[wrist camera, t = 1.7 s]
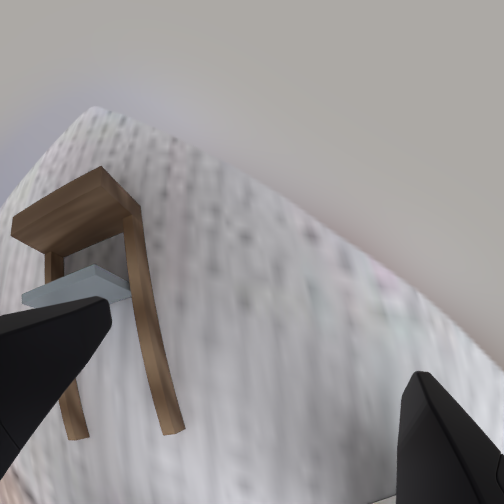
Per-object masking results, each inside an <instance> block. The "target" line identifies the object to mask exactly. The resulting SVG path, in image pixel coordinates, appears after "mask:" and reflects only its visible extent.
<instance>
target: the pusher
mask: <svg viewBox="0 0 504 504" xmlns="http://www.w3.org/2000/svg"><path fill="white" fill-rule="evenodd" d="M93 296H99V297H102V298H105V299H107V300H108V302H109V304H110V303H113V302H117V301H120V300H123V299H126V298H129V297H132V296H131V289H130V282H128V281H126V280H124V279H122V278H120V277H118V276H116V275H114V274H113V273H111V272H109V271H107V270H105V269H103V268H101V267H99V266H97V265H96V264H93V265H91V266H88V267H86V268H83V269H81V270H78V271H76V272H74V273H71V274H69V275H66V276H64V277H62V278H59V279H57V280H54V281H52V282H50V283H47V284H45V285H43V286H40V287H38V288H36V289H33V290H31V291H29V292H26V293H24V294H22V304H24V305H27V306H30V307H33V308H40V307H45V306H50V305H55V304H60V303H64V302H69V301H74V300H79V299H84V298H88V297H93Z"/></svg>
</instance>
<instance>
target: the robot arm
mask: <svg viewBox="0 0 504 504" xmlns="http://www.w3.org/2000/svg"><path fill="white" fill-rule="evenodd" d="M111 326H112V318H111V312H110V306H109V302H108V300H107V299H105V298H102V297H99V296H93V297H88V298H84V299H79V300H74V301H69V302H64V303H60V304H55V305H50V306H45V307H40V308H35V309H30V310H26V311H21V312H16V313H11V314H6V315H2V316H0V480H1V479H2V477H3V476H4V474H5V473H6V471H7V470H8V469H9V467H10V466H11V464H12V463H13V461H14V460H15V458H16V457H17V456H18V454H19V453H20V451H21V449H22V448H23V447H24V445H25V444H26V442H27V441H28V440H29V438H30V437H31V436H32V434H33V433H34V431H35V430H36V429H37V427H38V426H39V425H40V423H41V422H42V421H43V419H44V418H45V417H46V415H47V414H48V413H49V411H50V410H51V409H52V407H53V406H54V405H55V404H56V402H57V401H58V400H59V398H60V397H61V396H62V394H63V393H64V392H65V391H66V389H67V388H68V387H69V386H70V384H71V383H72V382H73V380H74V379H75V378H76V377H77V375H78V374H79V373H80V372H81V370H82V369H83V368H84V367H85V365H86V364H87V363H88V361H89V360H90V358H91V357H92V355H93V354H94V352H95V351H96V349H97V348H98V346H99V345H100V343H101V342H102V340H103V339H104V337H105V336H106V334H107V333H108V331H109V330H110V328H111ZM396 504H504V455H503V454H501V452H500V450H499V449H498V448H497V447H496V446H495V444H494V443H493V442H492V441H491V440H490V439H489V438H488V436H487V435H486V434H485V433H484V432H483V431H482V429H481V428H480V427H479V426H478V425H477V424H476V423H475V422H474V420H473V419H472V418H471V417H470V416H469V415H468V414H467V413H466V412H465V410H464V409H463V408H462V407H461V406H460V405H459V404H458V403H457V402H456V400H455V399H454V398H453V397H452V396H451V395H450V394H449V393H448V392H447V391H446V390H445V389H444V387H443V386H442V385H441V384H440V383H439V382H438V381H437V380H436V379H435V378H434V377H433V376H432V375H431V374H430V373H429V372H423V371H416V372H414V373H413V375H412V377H411V379H410V381H409V383H408V385H407V387H406V388H405V390H404V392H403V395H402V399H401V411H400V424H399V435H398V446H397V486H396Z"/></svg>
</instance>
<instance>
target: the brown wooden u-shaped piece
mask: <svg viewBox="0 0 504 504" xmlns="http://www.w3.org/2000/svg"><path fill="white" fill-rule="evenodd" d="M122 232H124V241H125V250H126V259H127V267H128V275H129V282H130V289H131V296H132V302H133V308H134V314H135V320H136V326H137V331H138V336H139V341H140V346H141V351H142V356H143V360H144V365H145V369H146V373H147V378H148V382H149V386H150V390H151V394H152V398H153V401H154V405H155V409H156V412H157V416H158V419H159V423H160V426H161V430H162V433H163V435H171V434H176V433H178V432H180V431H182V430H184V429H185V425H184V422H183V419H182V415H181V412H180V408H179V405H178V401H177V398H176V394H175V390H174V386H173V383H172V379H171V375H170V371H169V367H168V363H167V358H166V354H165V350H164V345H163V341H162V336H161V332H160V327H159V322H158V317H157V312H156V307H155V302H154V296H153V291H152V285H151V279H150V273H149V267H148V261H147V254H146V247H145V240H144V232H143V224H142V216H141V207H140V205H139V204H138V203H137V202H136V201H135V200H134V199H133V198H132V197H131V196H130V195H129V194H128V193H127V192H126V191H125V190H124V189H123V188H122V187H121V186H120V185H119V184H118V183H117V182H116V181H115V180H114V179H113V178H112V177H111V175H110V174H109V173H108V172H107V171H106V170H105V169H104V168H103V167H102V166H100V167H98V168H96V169H94V170H92V171H90V172H88V173H86V174H84V175H82V176H81V177H79V178H77V179H75V180H73V181H71V182H70V183H68V184H66V185H64V186H63V187H61V188H59V189H57V190H56V191H54V192H52V193H50V194H49V195H47V196H45V197H44V198H42V199H40V200H39V201H37V202H36V203H34V204H32V205H31V206H29V207H28V208H26V209H25V210H23V211H21V212H20V213H18V214H17V215H15V216H14V217H13V220H12V228H11V236H12V237H14V238H15V239H17V240H19V241H21V242H23V243H24V244H26V245H28V246H30V247H32V248H34V249H36V250H37V251H39V252H41V253H43V254H45V284H47V283H50V282H52V281H54V280H57V279H59V278H62V277H64V263H63V258H64V257H66V256H68V255H71V254H73V253H75V252H77V251H80V250H82V249H84V248H86V247H89V246H91V245H93V244H96V243H98V242H100V241H103V240H105V239H107V238H110V237H112V236H115V235H117V234H119V233H122ZM59 404H60V409H61V413H62V417H63V421H64V425H65V429H66V433H67V436H68V440H80V439H84V438H88V437H89V433H88V430H87V426H86V422H85V418H84V414H83V410H82V406H81V402H80V397H79V393H78V388H77V383H76V378H75V379H74V380H73V382H72V383H71V384H70V386H69V387H68V388H67V389H66V391H65V392H64V393H63V394H62V396H61V397H60V398H59Z"/></svg>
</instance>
